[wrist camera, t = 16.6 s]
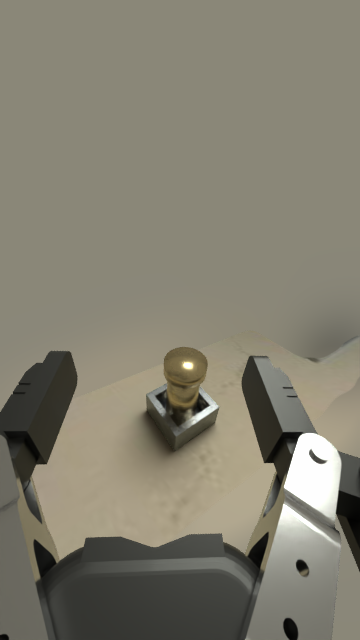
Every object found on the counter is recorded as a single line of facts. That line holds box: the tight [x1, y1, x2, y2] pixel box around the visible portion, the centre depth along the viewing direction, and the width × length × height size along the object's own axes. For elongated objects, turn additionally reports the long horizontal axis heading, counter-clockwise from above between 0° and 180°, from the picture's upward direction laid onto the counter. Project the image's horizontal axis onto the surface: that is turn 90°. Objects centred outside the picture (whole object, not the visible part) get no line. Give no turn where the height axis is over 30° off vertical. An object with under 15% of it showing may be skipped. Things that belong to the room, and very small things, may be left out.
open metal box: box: [146, 384, 219, 451], centre depth 41 cm, size 9×9×4 cm
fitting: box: [164, 347, 208, 427], centre depth 38 cm, size 6×6×13 cm
